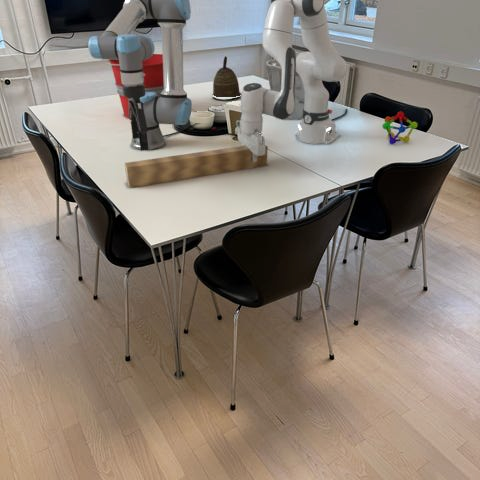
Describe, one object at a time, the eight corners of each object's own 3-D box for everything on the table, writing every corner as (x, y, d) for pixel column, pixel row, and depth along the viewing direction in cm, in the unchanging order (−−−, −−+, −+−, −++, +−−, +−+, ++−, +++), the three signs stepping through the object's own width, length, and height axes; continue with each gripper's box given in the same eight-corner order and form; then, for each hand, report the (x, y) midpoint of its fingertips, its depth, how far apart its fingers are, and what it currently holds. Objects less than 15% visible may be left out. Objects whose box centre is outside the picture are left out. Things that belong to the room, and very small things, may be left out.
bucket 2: (291, 126, 231) (295, 70, 216) (253, 114, 250) (254, 61, 235) (328, 115, 248) (333, 63, 233) (289, 104, 267) (292, 55, 252)
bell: (227, 105, 294) (202, 96, 282) (238, 66, 289) (213, 55, 277) (243, 108, 280) (217, 98, 268) (255, 66, 275) (229, 55, 263)
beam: (129, 187, 167) (126, 167, 163) (127, 182, 171) (124, 162, 167) (266, 165, 187) (267, 146, 182) (262, 161, 190) (262, 142, 186)
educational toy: (377, 146, 209) (379, 114, 202) (384, 138, 219) (386, 107, 211) (411, 149, 202) (415, 116, 195) (417, 141, 212) (420, 109, 204)
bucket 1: (123, 104, 265) (116, 50, 249) (181, 105, 264) (178, 51, 248) (106, 122, 236) (97, 62, 220) (172, 123, 235) (167, 63, 219)
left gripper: (152, 91, 143) (158, 153, 155) (136, 76, 163) (143, 132, 174) (129, 93, 141) (137, 156, 152) (115, 77, 160) (123, 134, 171)
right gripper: (270, 133, 171) (268, 166, 178) (248, 118, 187) (248, 149, 194) (255, 135, 168) (254, 169, 176) (234, 120, 184) (234, 151, 192)
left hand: (140, 143), depth 163 cm, fingers open, 13 cm apart
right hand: (250, 158), depth 185 cm, fingers closed on beam, 5 cm apart
